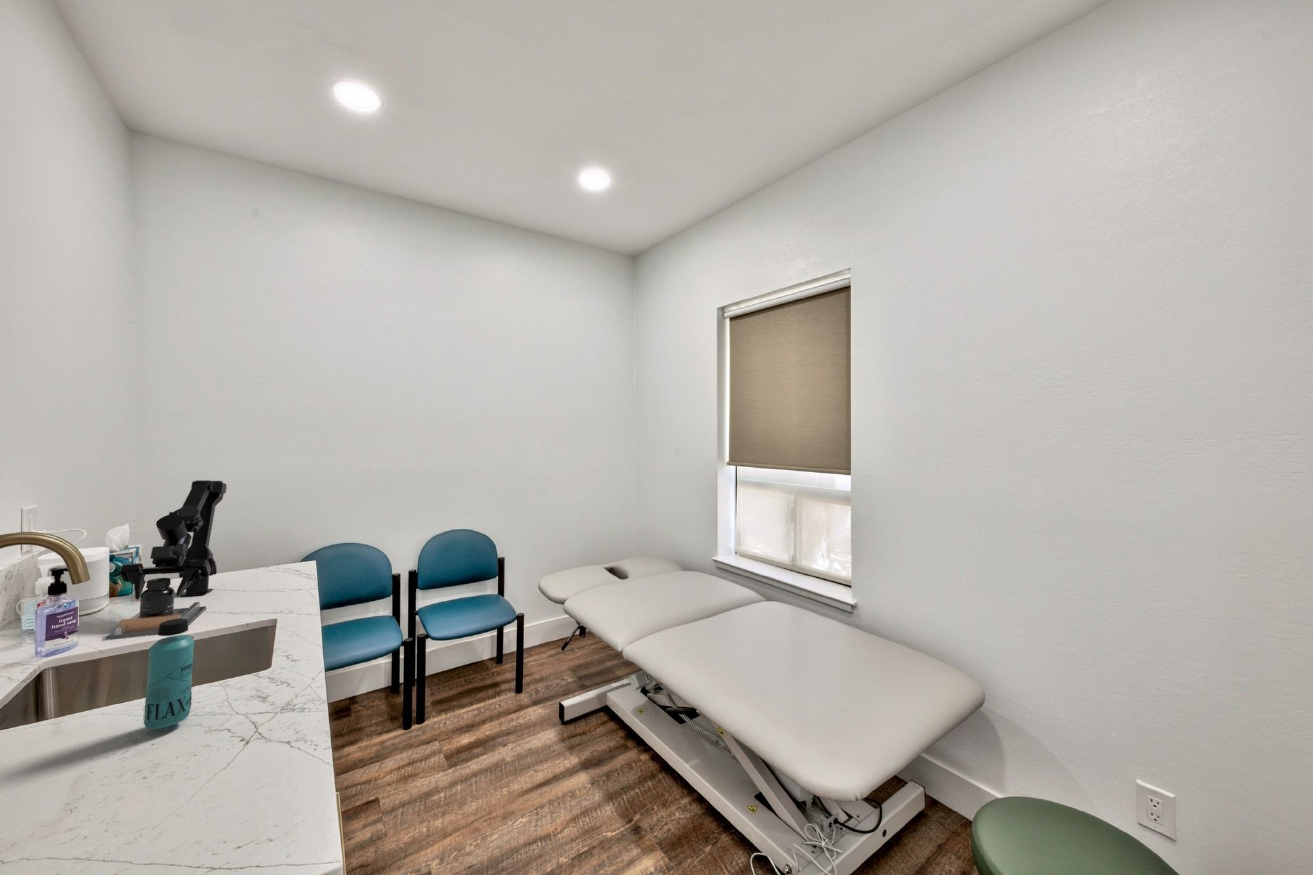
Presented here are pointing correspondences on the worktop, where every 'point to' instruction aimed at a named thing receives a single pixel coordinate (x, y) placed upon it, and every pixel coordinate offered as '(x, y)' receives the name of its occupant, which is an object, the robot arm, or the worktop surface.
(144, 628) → the rail plate
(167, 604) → the supplement bottle
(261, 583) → the worktop surface
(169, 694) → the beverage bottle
